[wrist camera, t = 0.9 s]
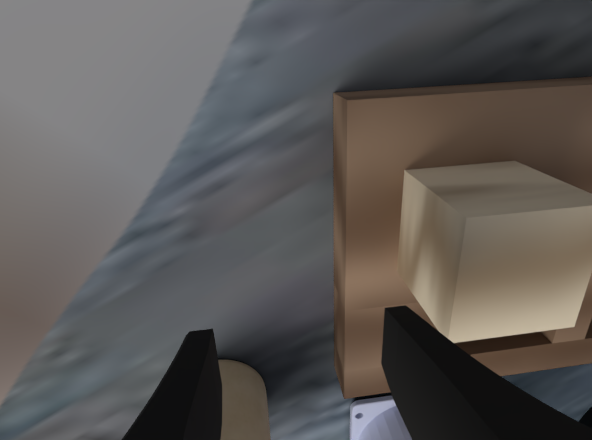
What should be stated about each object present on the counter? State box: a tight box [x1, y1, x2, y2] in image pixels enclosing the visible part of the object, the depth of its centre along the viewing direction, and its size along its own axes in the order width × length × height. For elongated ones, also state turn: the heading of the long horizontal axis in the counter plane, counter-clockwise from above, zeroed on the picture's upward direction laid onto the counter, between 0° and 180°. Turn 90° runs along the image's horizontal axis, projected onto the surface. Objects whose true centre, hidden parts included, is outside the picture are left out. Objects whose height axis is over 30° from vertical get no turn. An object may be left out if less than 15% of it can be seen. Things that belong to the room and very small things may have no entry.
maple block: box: [397, 161, 592, 343], centre depth 16 cm, size 5×5×5 cm
